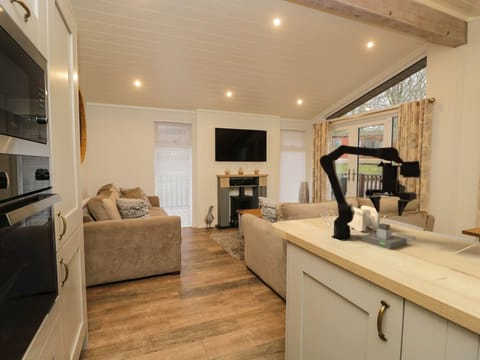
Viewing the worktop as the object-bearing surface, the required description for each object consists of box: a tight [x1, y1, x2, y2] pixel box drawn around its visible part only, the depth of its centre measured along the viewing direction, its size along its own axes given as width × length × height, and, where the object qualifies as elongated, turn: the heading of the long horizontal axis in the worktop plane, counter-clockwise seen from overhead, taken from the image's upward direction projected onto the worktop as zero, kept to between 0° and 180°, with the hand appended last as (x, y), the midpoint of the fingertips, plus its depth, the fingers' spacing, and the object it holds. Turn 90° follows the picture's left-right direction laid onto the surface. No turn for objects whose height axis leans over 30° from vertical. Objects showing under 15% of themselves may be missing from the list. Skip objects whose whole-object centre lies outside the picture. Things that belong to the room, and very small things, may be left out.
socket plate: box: [361, 231, 408, 251], centre depth 108 cm, size 12×12×3 cm
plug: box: [376, 222, 393, 240], centre depth 108 cm, size 4×4×8 cm
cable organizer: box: [348, 205, 381, 232], centre depth 131 cm, size 15×11×12 cm
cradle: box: [393, 231, 416, 242], centre depth 115 cm, size 8×8×2 cm
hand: (388, 214), depth 108 cm, fingers open, 9 cm apart
